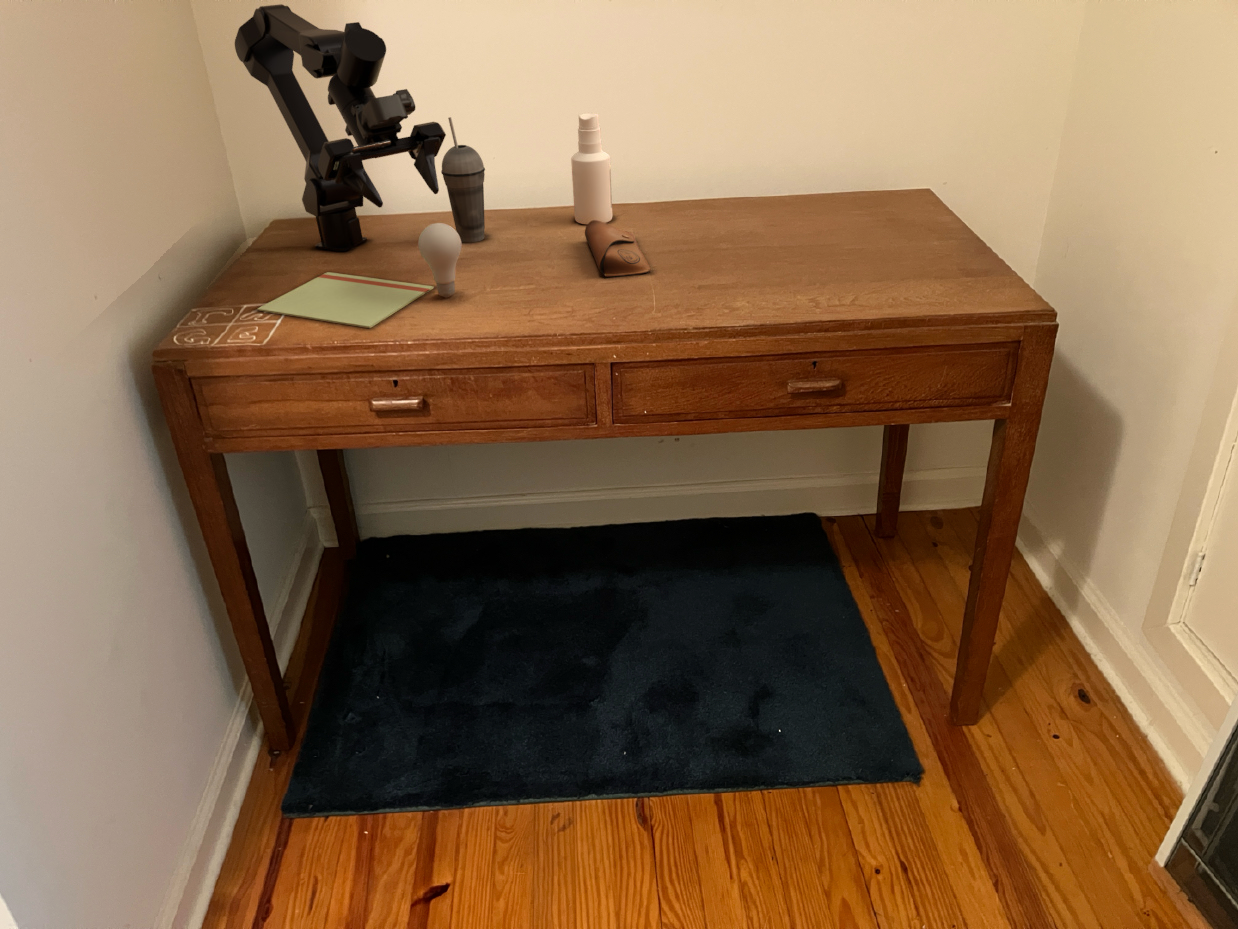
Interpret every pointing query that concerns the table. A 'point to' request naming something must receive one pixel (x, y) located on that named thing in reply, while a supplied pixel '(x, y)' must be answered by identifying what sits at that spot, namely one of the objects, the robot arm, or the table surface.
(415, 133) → the robot arm
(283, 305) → the cloth
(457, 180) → the beverage cup
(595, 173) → the spray bottle
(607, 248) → the sunglasses case
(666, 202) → the table surface
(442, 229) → the lightbulb
